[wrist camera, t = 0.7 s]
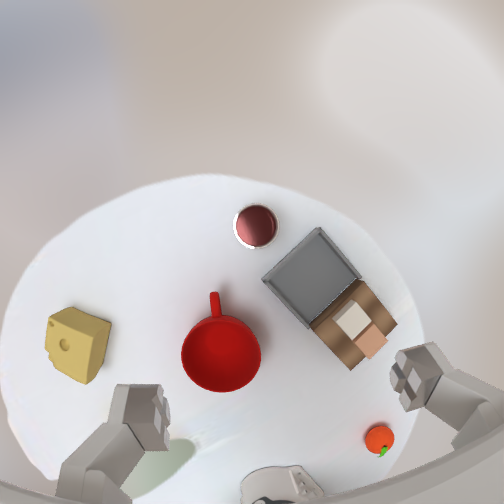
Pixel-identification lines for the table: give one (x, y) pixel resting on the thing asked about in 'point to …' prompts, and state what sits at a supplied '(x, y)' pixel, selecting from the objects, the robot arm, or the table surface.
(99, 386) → the table surface
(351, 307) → the tile
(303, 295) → the tray
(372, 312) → the walnut block
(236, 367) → the ceramic cup
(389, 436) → the clementine
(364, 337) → the tile
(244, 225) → the wineglass
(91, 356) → the cheese
